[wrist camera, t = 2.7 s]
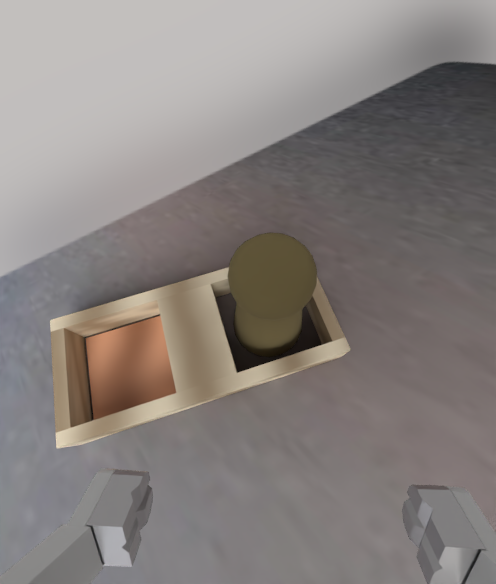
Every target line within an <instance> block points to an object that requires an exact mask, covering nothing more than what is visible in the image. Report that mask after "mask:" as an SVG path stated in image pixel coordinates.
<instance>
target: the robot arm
mask: <svg viewBox="0 0 496 584" xmlns="http://www.w3.org/2000/svg"><path fill="white" fill-rule="evenodd" d="M149 481H150V476H149V472H147V471H132V470H118V469H100V470H99V471H98V472H97V473H96V474H95V476H94V478H93V480H92V481H91V483H90V485H89V487H88V489H87V490H86V492H85V494H84V496H83V497H82V499H81V501H80V503H79V504H78V506H77V508H76V510H75V512H74V513H73V515H72V517H71V519H70V520H69V522H68V524H67V525H61V526H60V527H59V528H58V529H56V530H55V531H54V532H53V533H52V534H50V535H49V536H48V537H47V538H46V539H44V540H43V541H42V542H41V543H40V544H38V545H37V546H36V547H35V548H34V549H32V550H31V551H30V552H29V553H28V554H26V555H25V556H24V557H23V558H22V559H20V560H19V561H18V562H17V563H16V564H14V565H13V566H12V567H11V568H10V569H9V570H7V571H6V572H5V573H4V574H3V575H1V576H0V584H90V583H91V582H92V581H93V579H94V578H95V577H96V576H97V575H98V574H99V572H100V571H101V570H102V569H103V566H124V567H132V566H133V563H134V560H135V557H136V554H137V551H138V548H139V545H140V542H141V535H140V530H141V529H142V528H143V527H144V526H145V525H146V524H147V522H148V518H149V515H150V512H151V507H152V502H153V492H152V488H151V487H150V486H149V485H148V483H149ZM407 493H408V495H409V499H408V500H406V501H405V502H404V505H403V509H402V513H403V521H404V525H405V529H406V531H407V534H408V537H409V539H410V540H411V541H412V542H413V543H414V544H415V545H416V546H417V547H418V553H417V559H418V562H419V564H420V567H421V569H422V572H423V574H424V577H425V579H426V582H427V584H496V533H495V531H494V530H493V528H492V527H491V525H490V524H489V522H488V521H487V519H486V518H485V516H484V514H483V513H482V511H481V510H480V508H479V507H478V505H477V504H476V502H475V501H474V499H473V498H472V496H471V495H470V493H469V492H468V491H467V490H466V489H465V488H463V487H448V486H437V485H411V486H409V488H408V491H407Z"/></svg>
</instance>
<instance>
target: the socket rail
mask: <svg viewBox="0 0 496 584" xmlns="http://www.w3.org/2000/svg"><path fill="white" fill-rule="evenodd" d="M228 271H229V267H228V268H224V269H221V270H218V271H214V272H211V273H208V274H204V275H201V276H197V277H194V278H191V279H187V280H184V281H181V282H177V283H174V284H170V285H167V286H164V287H160V288H157V289H154V290H150V291H147V292H143V293H140V294H137V295H133V296H130V297H127V298H123V299H120V300H116V301H113V302H110V303H106V304H103V305H100V306H96V307H93V308H90V309H86V310H83V311H79V312H76V313H73V314H69V315H66V316H63V317H59V318H56V319H52V320H50V326H51V346H52V366H53V387H54V407H55V427H56V448H63V447H69V446H76V445H82V444H85V443H88V442H91V441H94V440H97V439H100V438H103V437H105V436H108V435H111V434H114V433H117V432H120V431H123V430H126V429H129V428H132V427H135V426H138V425H141V424H144V423H147V422H150V421H153V420H156V419H159V418H162V417H165V416H168V415H171V414H174V413H177V412H180V411H183V410H186V409H189V408H192V407H195V406H198V405H201V404H204V403H207V402H209V401H212V400H215V399H218V398H221V397H224V396H227V395H230V394H233V393H236V392H239V391H242V390H245V389H248V388H251V387H254V386H257V385H260V384H263V383H266V382H269V381H272V380H275V379H278V378H281V377H284V376H287V375H290V374H293V373H296V372H299V371H302V370H305V369H308V368H311V367H313V366H316V365H319V364H322V363H325V362H328V361H331V360H334V359H337V358H340V357H342V356H343V355H344V354H346V353H347V352H349V351H350V350H351V349H350V347H349V345H348V343H347V340H346V338H345V336H344V334H343V332H342V330H341V327H340V325H339V323H338V321H337V319H336V316H335V314H334V312H333V310H332V308H331V306H330V303H329V301H328V299H327V297H326V295H325V293H324V290H323V288H322V286H321V284H320V282H319V280H318V277H317V285H316V287H315V290H314V292H313V295H312V297H311V299H310V301H309V302H308V303H307V304H306V307H307V310H308V312H309V314H310V317H311V319H312V322H313V324H314V326H315V329H316V331H317V333H318V336H319V338H320V340H321V343H322V345H320V346H317V347H314V348H311V349H308V350H305V351H302V352H299V353H296V354H293V355H290V356H287V357H284V358H281V359H278V360H275V361H272V362H269V363H265V364H262V365H259V366H256V367H253V368H250V369H247V370H244V371H241V372H237V368H236V365H235V362H234V358H233V355H232V351H231V348H230V345H229V341H228V338H227V334H226V331H225V328H224V324H223V321H222V318H221V314H220V311H219V307H218V304H217V301H216V297H219V296H222V295H225V294H229V293H231V291H230V287H229V282H228ZM156 315H160V316H157V317H154V318H151V319H147V320H144V321H141V322H138V323H134V324H131V325H128V326H125V327H121V328H118V329H115V330H111V331H108V332H105V333H102V334H98V335H95V336H92V337H88V338H86V346H87V356H88V367H89V377H90V387H91V397H92V408H93V418H94V420H93V421H92V410H91V400H90V390H89V379H88V369H87V358H86V348H85V337H87V336H91V335H94V334H97V333H101V332H104V331H107V330H110V329H114V328H117V327H120V326H124V325H127V324H130V323H133V322H137V321H140V320H143V319H146V318H150V317H153V316H156Z"/></svg>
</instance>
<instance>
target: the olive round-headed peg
mask: <svg viewBox="0 0 496 584" xmlns="http://www.w3.org/2000/svg"><path fill="white" fill-rule="evenodd" d="M228 282H229V287H230V291H231V294H232V296H233V297H234V299H235V301H236V302H237V304H236V310H235V317H234V323H233V325H234V330H235V335H236V337H237V338H238V340H239V342H240V344H241V345H242V346H243V347H245V348H246V349H247V350H248V351H249V352H251V353H254V354H256V355H258V356H265V357H273V356H278V355H282V354H283V353H285V352H287V351H288V350H290V349H291V348H292V347H293V346H294V345H295V344H296V342H297V341H298V339H299V336H300V334H301V332H302V309H303V308H304V306H305V305H306V304H307V303H308V302H309V301H310V299H311V297H312V295H313V292H314V290H315V287H316V285H317V269H316V265H315V262H314V259H313V256H312V255H311V253H310V252H309V251H308V249H307V248H306V247H305V246H304V245H303V244H301V243H300V242H299V241H297V240H296V239H294V238H293V237H290V236H287V235H285V234H281V233H265V234H260V235H257V236H255V237H253V238H251V239H249V240H247V241H245V242H244V243H243V244H242V245H241V246H240V247H239V248H238V249H237V250H236V252H235V254H234V255H233V257H232V259H231V261H230V264H229V271H228Z"/></svg>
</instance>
